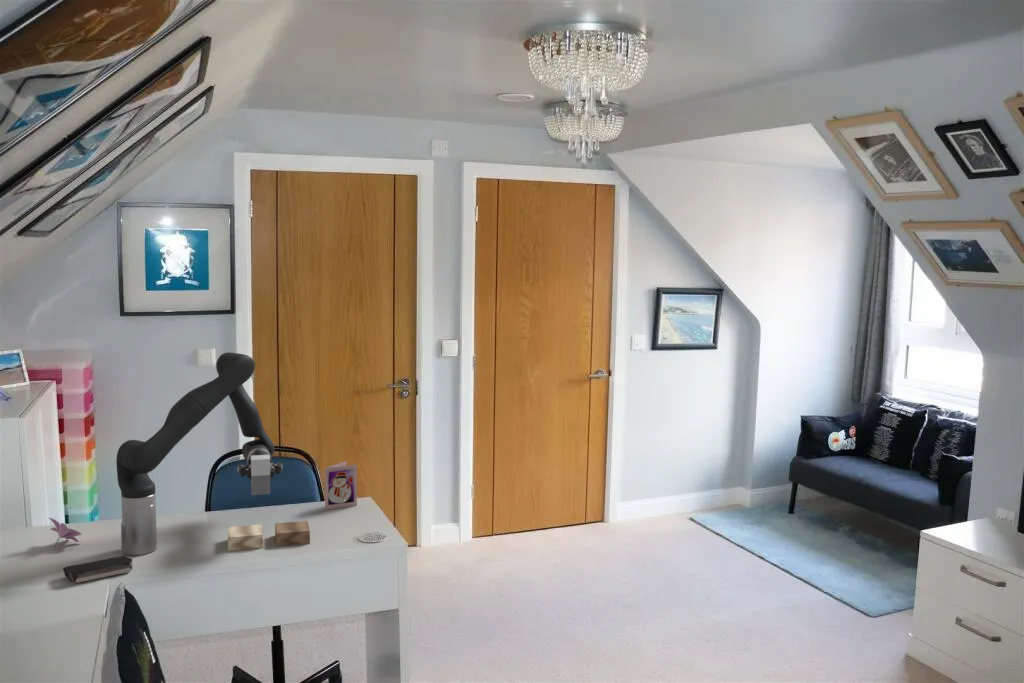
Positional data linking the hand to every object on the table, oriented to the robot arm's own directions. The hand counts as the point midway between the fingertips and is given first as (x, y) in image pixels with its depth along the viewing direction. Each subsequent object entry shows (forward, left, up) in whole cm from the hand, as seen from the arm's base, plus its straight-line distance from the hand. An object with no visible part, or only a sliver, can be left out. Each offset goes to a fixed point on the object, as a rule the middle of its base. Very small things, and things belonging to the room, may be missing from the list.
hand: (260, 475), depth 246 cm
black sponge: (-43, -13, -22) cm, 50 cm away
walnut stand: (+9, +2, -22) cm, 24 cm away
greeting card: (+27, +34, -22) cm, 49 cm away
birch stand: (-5, +2, -22) cm, 22 cm away
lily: (-57, +14, -22) cm, 63 cm away
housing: (0, +3, -6) cm, 7 cm away
